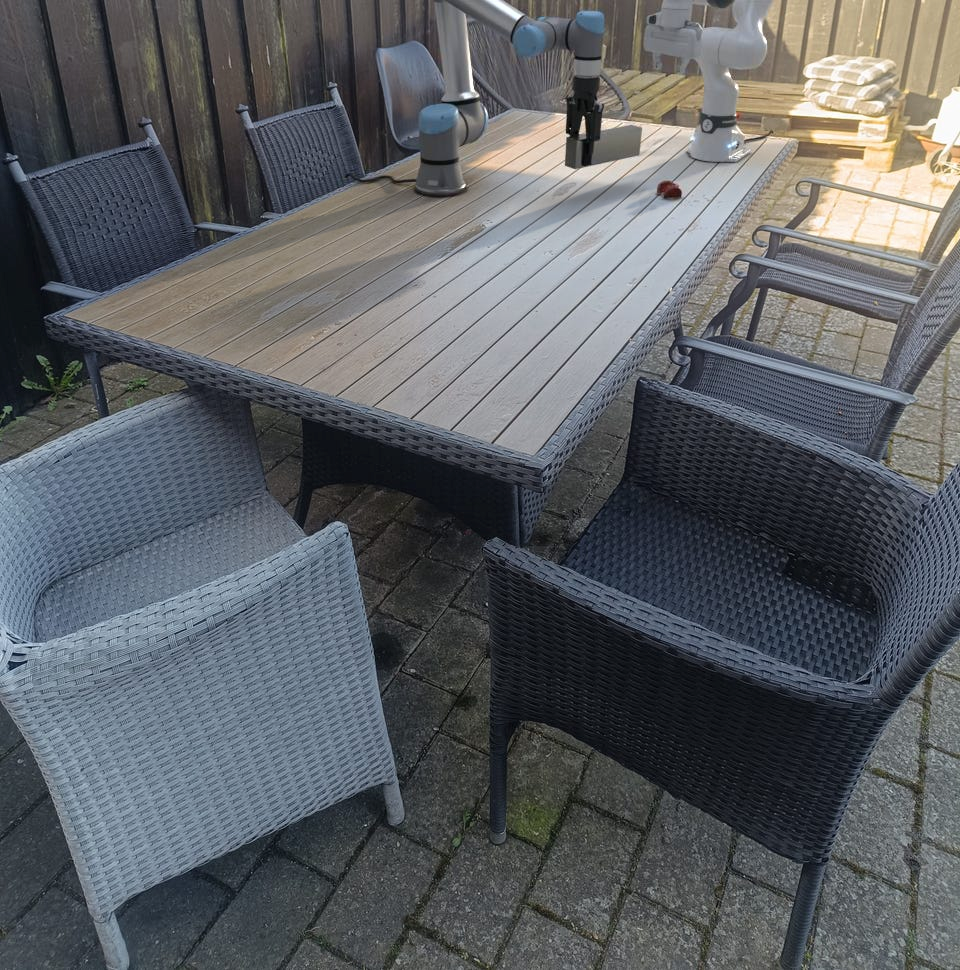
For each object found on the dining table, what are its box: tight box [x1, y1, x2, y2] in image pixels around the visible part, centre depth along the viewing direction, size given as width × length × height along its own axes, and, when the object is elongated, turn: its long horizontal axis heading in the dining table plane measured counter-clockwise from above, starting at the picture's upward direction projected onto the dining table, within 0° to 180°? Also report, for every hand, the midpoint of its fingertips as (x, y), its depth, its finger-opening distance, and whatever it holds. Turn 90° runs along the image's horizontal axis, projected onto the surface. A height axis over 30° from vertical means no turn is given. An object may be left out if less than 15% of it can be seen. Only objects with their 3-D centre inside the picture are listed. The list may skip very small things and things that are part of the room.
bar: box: [564, 124, 643, 170], centre depth 248 cm, size 26×5×8 cm, turn 126°
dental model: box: [656, 180, 683, 200], centre depth 252 cm, size 6×4×8 cm
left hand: (580, 163), depth 245 cm, fingers closed on bar, 5 cm apart
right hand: (669, 71), depth 253 cm, fingers open, 8 cm apart
